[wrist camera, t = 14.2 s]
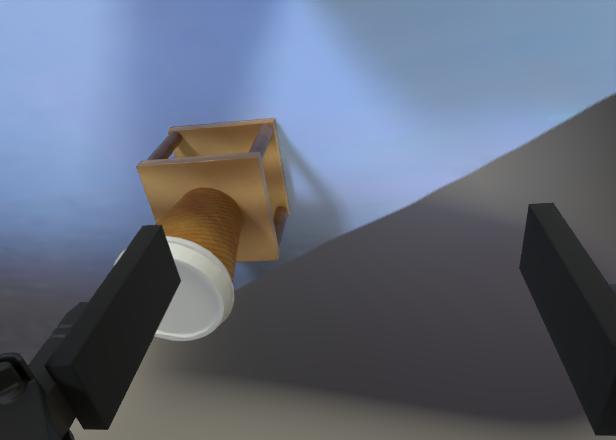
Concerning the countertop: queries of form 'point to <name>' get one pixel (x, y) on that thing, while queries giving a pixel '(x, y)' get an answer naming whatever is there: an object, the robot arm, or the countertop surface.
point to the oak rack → (225, 177)
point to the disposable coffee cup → (201, 262)
